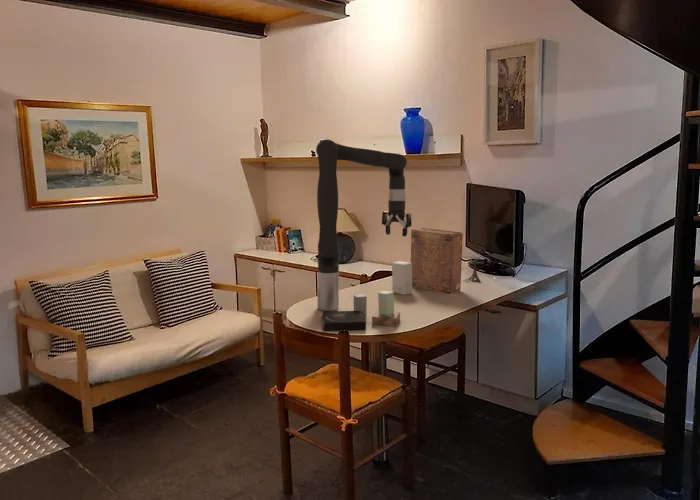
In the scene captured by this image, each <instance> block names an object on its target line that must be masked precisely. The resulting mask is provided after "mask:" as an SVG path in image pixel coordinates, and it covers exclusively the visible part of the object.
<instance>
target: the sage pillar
mask: <svg viewBox="0 0 700 500" xmlns="http://www.w3.org/2000/svg"><path fill="white" fill-rule="evenodd" d="M377 294H378V310H379V314H383V315H390V314H393V313H394V312H395V295H394V294H395V293H394V292H393V291H389V290H383V291H379V292H378V293H377Z"/></svg>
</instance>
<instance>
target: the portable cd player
mask: <svg viewBox="0 0 700 500" xmlns="http://www.w3.org/2000/svg"><path fill="white" fill-rule="evenodd" d="M321 323H322V330H323V331H324V332H342V331H341V330H347V331H346V332H351V331H353V332H354V331H366V330H367V321H366V317H364V315H363V313H362V311H354V310H334V311H323V310H322V315H321Z"/></svg>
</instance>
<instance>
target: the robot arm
mask: <svg viewBox="0 0 700 500" xmlns="http://www.w3.org/2000/svg"><path fill="white" fill-rule="evenodd" d="M315 152H316V155H317V159H318V169H319V170H318V171H319V172H318V173H319V175H318V182H317V189H316V190H317V192H316V195H317V196H316V197H317V198H316V200H317V201H316V203H317V204H316V205H317V215H318V223H319V233H318V234H319V235H318V243H317V251H318V253H317V278H318V279H317V291H316V292H317V300H316V301H317V310H318V311H322V312H323V311H338V310H339V305H340V304H339V303H340V302H339V293H340V291H339V290H340V288H339V287H340V285H339V283H340V282H339V281H340V279H339V277H340V275H339V274H340V271H339V269H340V264H339V263H340V257H339V250H340V249H339V248H340V246H339V241H338V232H337V222H338V214H339V213H338V212H339V186H338V177H337V165H338V161H347V162H352V163H357V164H361V165H365V166H373V167H378V168H381V167H382V168H385V169H388V173H389V176H388V177H389V180H388V182H389V183H388V184H389V186H388V187H389V189H388V198H387V199H388V203H387V204H388V205H387V207H388V211H387V210H385V211H382V215H381V225H383V226H385V235H387V236H388V235H389V236H390V235H391V225H392V223H399V225H401V226H402V236H401V237H407V235H408V228H410V227H413V226H412V225H413V224H412V213H410V212H408V213H406V212H405V211H406V178H405V175H404V173H405V172H404V169H405V168H406V167H407V164H408V160H407V158H406V156H405V155H404V154H401V153H396V152H394V153H393V152H388V151H387V152H386V151H382V150H379V149H372V148H363V147H353V146H348V145H344V144H340V143H337V142H336V141H334V140H332V139H328V138H327V139H322V140H321V141H319V142H318V143H317V145H316V148H315Z"/></svg>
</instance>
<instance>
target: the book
mask: <svg viewBox="0 0 700 500" xmlns="http://www.w3.org/2000/svg"><path fill="white" fill-rule="evenodd" d="M410 232H411V233H410V234H411V235H410V236H411V237H410V263H412V288H418V289H419V288H420V289H424V290H429V291H434V292H435V291H436V292H440V293H445V294H453V293H456V292H459V291H461V286H462V285H461V282H462V262H463V261H462V257H463V237H464V236H463V235H464V233H463V232H460V231H459V232H458V231H451V230H444V229H443V230H442V229H434V228H428V227H427V228H425V227H421V228H420V229H411V231H410Z"/></svg>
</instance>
